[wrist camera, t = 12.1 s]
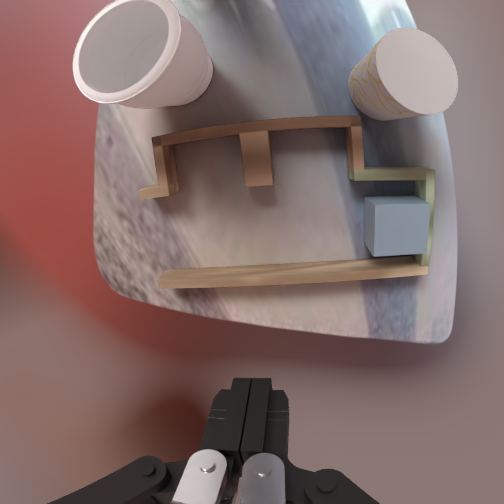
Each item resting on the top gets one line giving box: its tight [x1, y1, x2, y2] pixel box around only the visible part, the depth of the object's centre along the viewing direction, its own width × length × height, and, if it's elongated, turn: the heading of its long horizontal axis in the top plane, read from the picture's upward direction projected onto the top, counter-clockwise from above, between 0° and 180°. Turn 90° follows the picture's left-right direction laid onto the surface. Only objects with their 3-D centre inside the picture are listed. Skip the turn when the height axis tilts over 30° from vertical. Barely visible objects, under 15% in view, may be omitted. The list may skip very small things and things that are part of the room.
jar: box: [73, 0, 213, 109], centre depth 24 cm, size 11×10×15 cm
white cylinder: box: [348, 28, 458, 121], centre depth 24 cm, size 8×8×12 cm
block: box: [364, 196, 430, 257], centre depth 33 cm, size 6×7×5 cm
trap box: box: [139, 116, 435, 288], centre depth 34 cm, size 19×35×4 cm, turn 96°
